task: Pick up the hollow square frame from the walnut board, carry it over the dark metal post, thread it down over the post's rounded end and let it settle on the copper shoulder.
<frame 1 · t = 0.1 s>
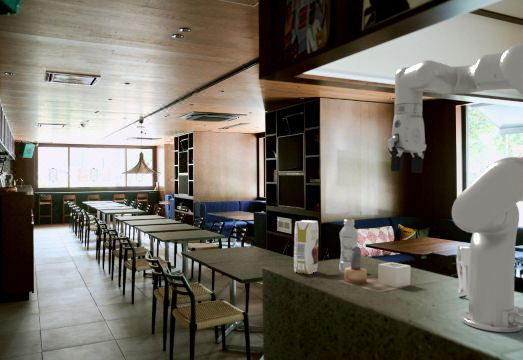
hand: (406, 172, 123), 37 cm above the counter, tool pointing down, fingers open, 9 cm apart
post board: (375, 287, 138), on the counter
hollow square frame: (393, 283, 137), point 1 cm above the counter, touching post board
juice carton: (305, 272, 160), on the counter
plastic bottle: (348, 274, 158), on the counter
beer glass: (468, 298, 127), on the counter
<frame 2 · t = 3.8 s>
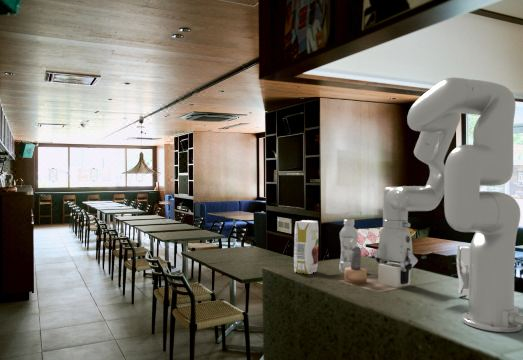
hand: (394, 280, 137), 2 cm above the counter, tool pointing down, fingers closed on hollow square frame, 7 cm apart
hollow square frame: (393, 283, 137), point 1 cm above the counter, touching gripper, post board
everything else where it was.
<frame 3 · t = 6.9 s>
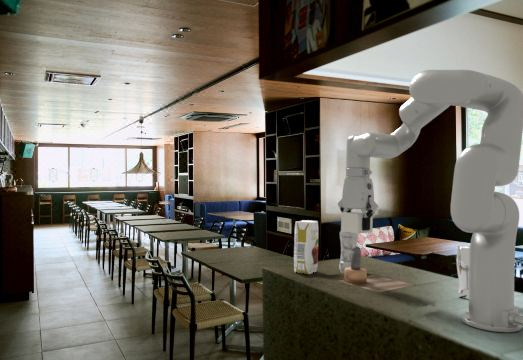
hand: (356, 228, 139), 19 cm above the counter, tool pointing down, fingers closed on hollow square frame, 7 cm apart
hollow square frame: (356, 231, 139), point 18 cm above the counter, touching gripper
everything else where it was.
when the fingers open (9 cm above the counter, at t = 9.9 s): hollow square frame drops 3 cm, resting on post board.
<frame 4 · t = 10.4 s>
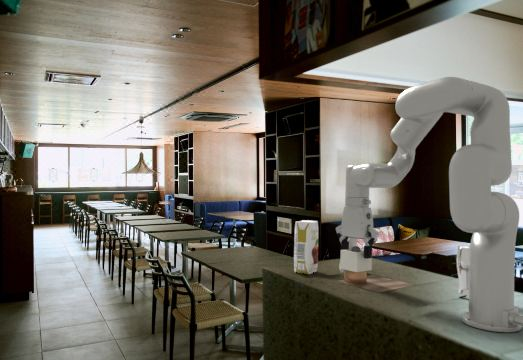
hand: (355, 255, 139), 10 cm above the counter, tool pointing down, fingers open, 9 cm apart
hollow square frame: (355, 269, 139), point 5 cm above the counter, touching post board
everything else where it was.
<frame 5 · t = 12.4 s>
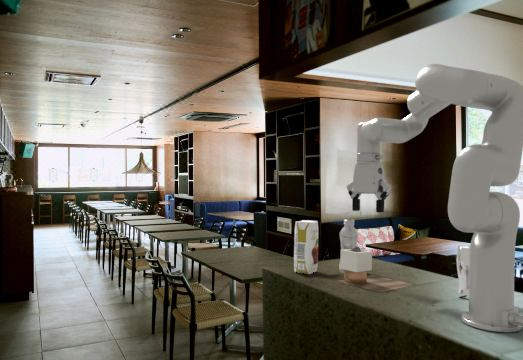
hand: (367, 211, 141), 24 cm above the counter, tool pointing down, fingers open, 9 cm apart
nothing on the counter moved.
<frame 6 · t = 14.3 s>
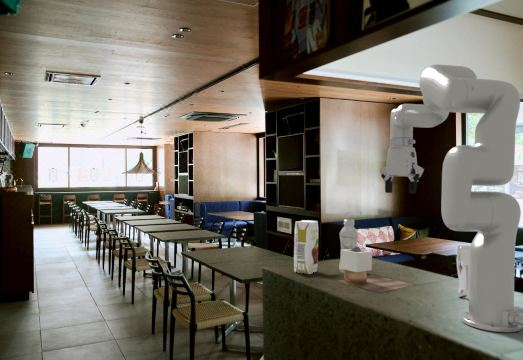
hand: (400, 193, 150), 30 cm above the counter, tool pointing down, fingers open, 9 cm apart
nothing on the counter moved.
at the end: hollow square frame 0.0 cm from the target spot on the post board, point 5.5 cm above the post board's base; hollow square frame tilted 0°; the gripper is holding nothing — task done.
